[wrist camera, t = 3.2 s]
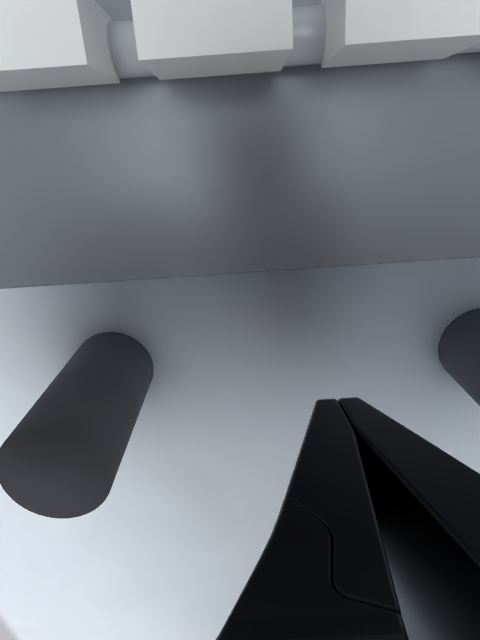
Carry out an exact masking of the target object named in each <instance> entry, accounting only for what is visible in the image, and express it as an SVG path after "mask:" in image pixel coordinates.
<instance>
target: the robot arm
mask: <svg viewBox="0 0 480 640" xmlns="http://www.w3.org/2000/svg"><path fill="white" fill-rule="evenodd" d="M216 640H480V474H479V473H478V472H476V471H474V470H473V469H471V468H470V467H468V466H466V465H465V464H463V463H462V462H460V461H458V460H457V459H455V458H454V457H452V456H450V455H449V454H447V453H446V452H444V451H442V450H441V449H439V448H438V447H436V446H435V445H433V444H431V443H430V442H428V441H427V440H425V439H423V438H422V437H420V436H419V435H417V434H415V433H414V432H412V431H411V430H409V429H407V428H406V427H404V426H403V425H401V424H399V423H398V422H396V421H395V420H393V419H391V418H390V417H388V416H387V415H385V414H384V413H382V412H380V411H379V410H377V409H376V408H374V407H372V406H371V405H369V404H368V403H366V402H364V401H363V400H361V399H359V398H357V397H353V398H341V399H339V400H338V401H337V400H336V399H322V400H317V401H316V403H315V406H314V409H313V412H312V415H311V418H310V422H309V425H308V428H307V431H306V434H305V437H304V440H303V443H302V446H301V449H300V452H299V455H298V458H297V462H296V465H295V468H294V471H293V474H292V477H291V480H290V483H289V486H288V489H287V492H286V495H285V499H284V501H283V504H282V507H281V510H280V513H279V516H278V518H277V521H276V523H275V526H274V529H273V531H272V534H271V536H270V538H269V541H268V543H267V545H266V547H265V549H264V551H263V553H262V555H261V557H260V559H259V561H258V563H257V565H256V567H255V569H254V571H253V572H252V574H251V576H250V578H249V580H248V582H247V584H246V586H245V587H244V589H243V591H242V593H241V595H240V597H239V599H238V601H237V602H236V604H235V606H234V608H233V610H232V612H231V614H230V616H229V617H228V619H227V621H226V623H225V625H224V627H223V628H222V630H221V632H220V634H219V635H218V637H217V638H216Z"/></svg>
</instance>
